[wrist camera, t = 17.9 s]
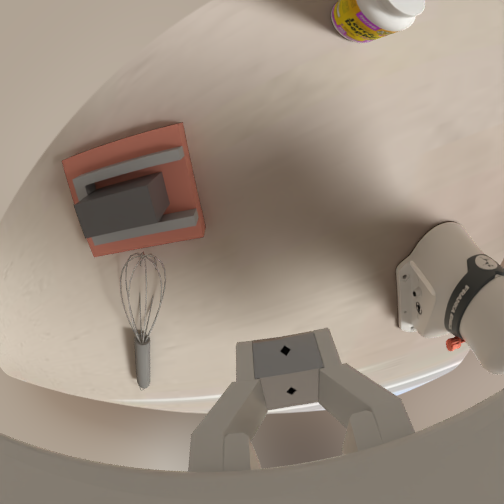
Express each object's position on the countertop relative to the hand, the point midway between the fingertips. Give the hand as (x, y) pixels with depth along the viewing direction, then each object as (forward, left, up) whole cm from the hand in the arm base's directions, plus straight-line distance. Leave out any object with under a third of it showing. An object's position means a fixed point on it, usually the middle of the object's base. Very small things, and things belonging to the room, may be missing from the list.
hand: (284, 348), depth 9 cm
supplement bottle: (+18, -16, -29) cm, 38 cm away
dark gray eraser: (0, +14, -26) cm, 30 cm away
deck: (0, +15, -29) cm, 33 cm away
